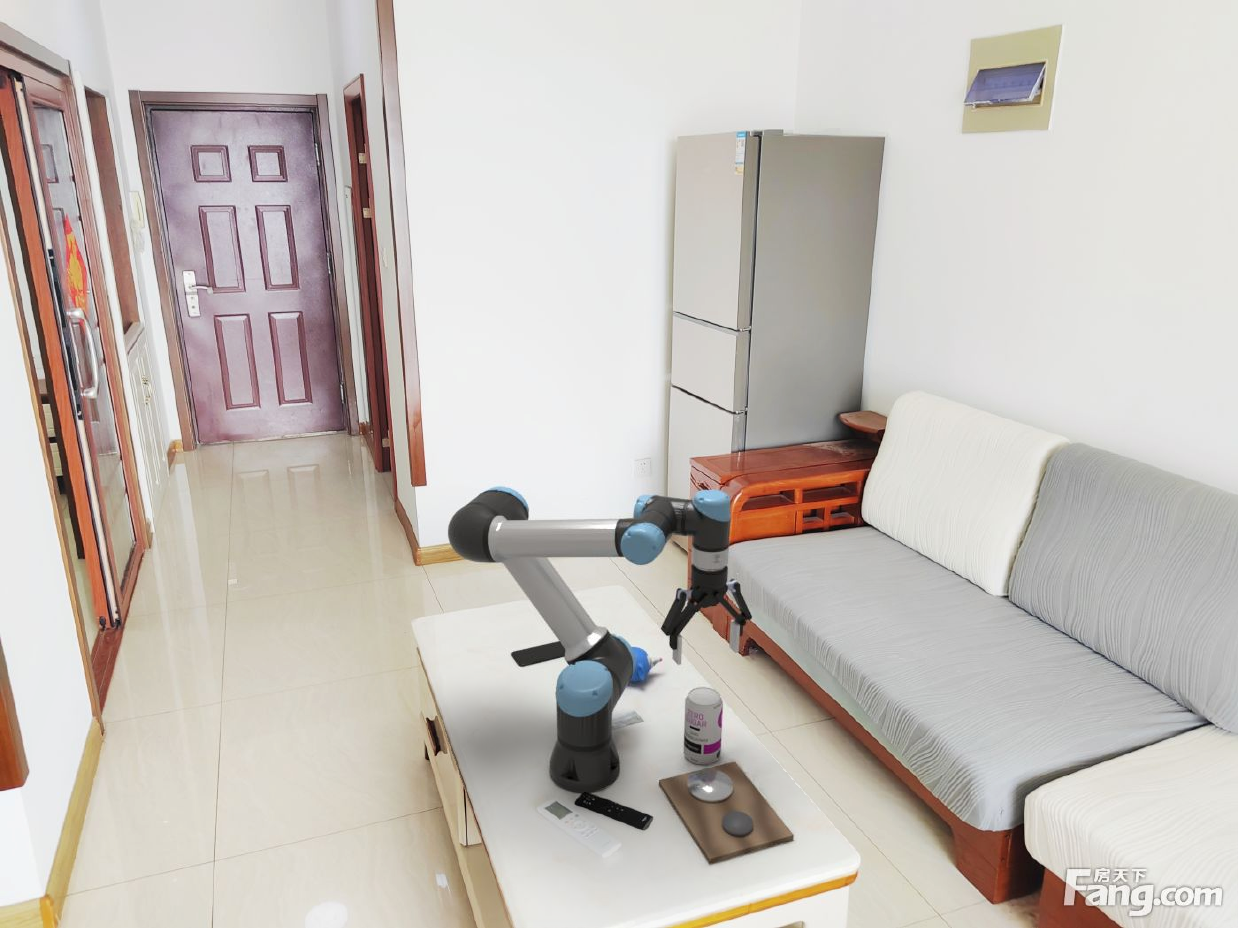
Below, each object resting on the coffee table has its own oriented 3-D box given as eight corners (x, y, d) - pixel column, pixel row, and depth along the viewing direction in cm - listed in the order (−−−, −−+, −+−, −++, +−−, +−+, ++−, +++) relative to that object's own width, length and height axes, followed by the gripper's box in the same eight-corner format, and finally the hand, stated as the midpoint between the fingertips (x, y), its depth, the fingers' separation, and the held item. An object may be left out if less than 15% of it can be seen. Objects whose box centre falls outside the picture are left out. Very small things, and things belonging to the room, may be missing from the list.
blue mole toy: (670, 686, 221) (671, 656, 219) (625, 693, 218) (625, 663, 215) (654, 662, 232) (654, 633, 230) (610, 669, 229) (611, 640, 226)
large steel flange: (699, 807, 177) (699, 803, 177) (679, 778, 185) (679, 774, 185) (741, 796, 180) (741, 792, 180) (720, 768, 189) (720, 764, 188)
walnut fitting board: (709, 863, 164) (709, 858, 164) (658, 784, 185) (658, 779, 185) (793, 839, 170) (793, 834, 170) (734, 765, 192) (735, 761, 191)
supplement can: (720, 744, 199) (722, 686, 194) (720, 767, 191) (723, 707, 186) (684, 742, 200) (685, 684, 195) (683, 765, 192) (684, 705, 187)
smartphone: (564, 641, 243) (509, 654, 236) (564, 638, 243) (509, 651, 236) (576, 655, 236) (520, 668, 229) (576, 652, 236) (520, 665, 229)
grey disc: (730, 839, 168) (731, 835, 168) (716, 819, 174) (716, 815, 174) (758, 832, 171) (758, 827, 170) (743, 812, 176) (743, 807, 176)
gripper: (661, 581, 174) (659, 675, 180) (771, 562, 182) (765, 653, 189) (646, 566, 180) (644, 657, 187) (753, 548, 189) (748, 636, 196)
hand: (705, 655), depth 188 cm, fingers open, 13 cm apart
